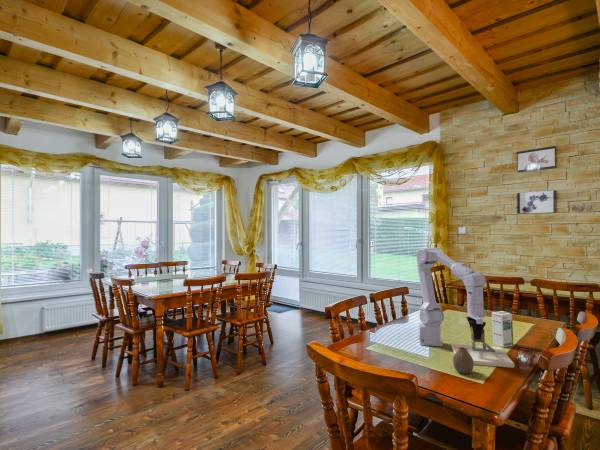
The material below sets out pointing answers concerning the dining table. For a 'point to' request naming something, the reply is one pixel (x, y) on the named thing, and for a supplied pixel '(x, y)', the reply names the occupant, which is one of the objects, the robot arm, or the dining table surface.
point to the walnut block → (478, 339)
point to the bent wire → (483, 348)
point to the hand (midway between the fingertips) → (476, 337)
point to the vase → (463, 361)
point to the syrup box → (502, 328)
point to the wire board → (486, 356)
